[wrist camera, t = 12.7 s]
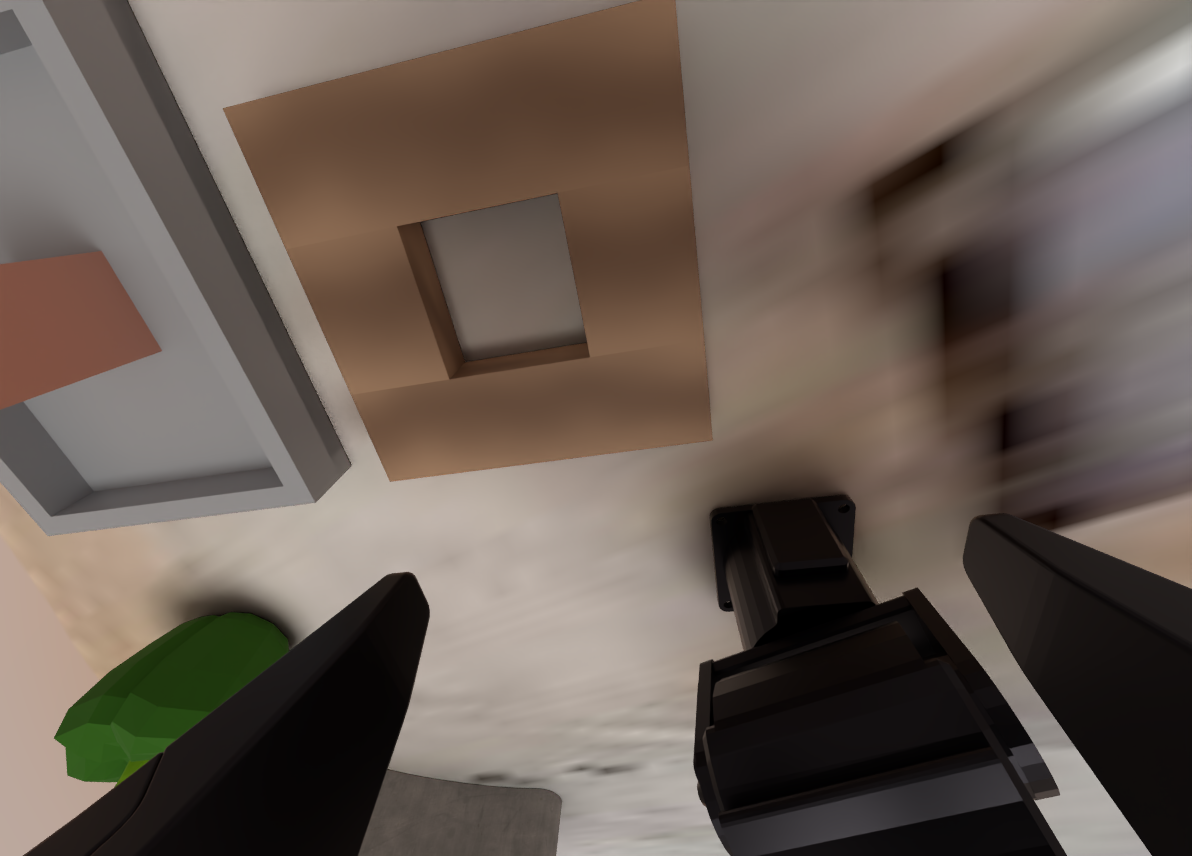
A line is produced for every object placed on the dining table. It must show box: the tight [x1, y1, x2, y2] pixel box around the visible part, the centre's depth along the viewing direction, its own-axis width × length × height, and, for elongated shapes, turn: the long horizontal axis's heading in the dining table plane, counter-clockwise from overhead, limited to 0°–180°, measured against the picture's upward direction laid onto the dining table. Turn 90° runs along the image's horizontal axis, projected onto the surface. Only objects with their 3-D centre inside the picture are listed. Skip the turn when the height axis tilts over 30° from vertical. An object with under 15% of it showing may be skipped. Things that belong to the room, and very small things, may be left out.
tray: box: [0, 0, 351, 536], centre depth 19 cm, size 18×14×3 cm
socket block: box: [223, 0, 713, 482], centre depth 18 cm, size 14×14×2 cm
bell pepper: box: [54, 612, 289, 788], centre depth 25 cm, size 8×8×10 cm
